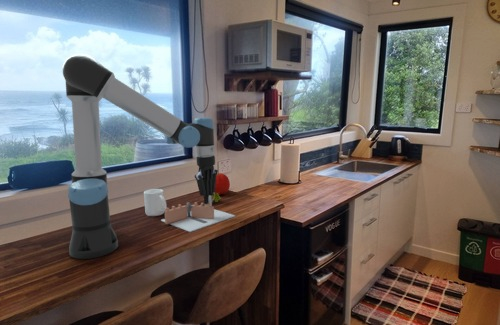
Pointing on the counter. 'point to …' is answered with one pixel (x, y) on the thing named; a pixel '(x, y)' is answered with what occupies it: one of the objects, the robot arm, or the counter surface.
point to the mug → (154, 202)
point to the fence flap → (202, 211)
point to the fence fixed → (177, 213)
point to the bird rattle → (215, 197)
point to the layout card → (200, 221)
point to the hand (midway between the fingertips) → (208, 210)
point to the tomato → (222, 184)
